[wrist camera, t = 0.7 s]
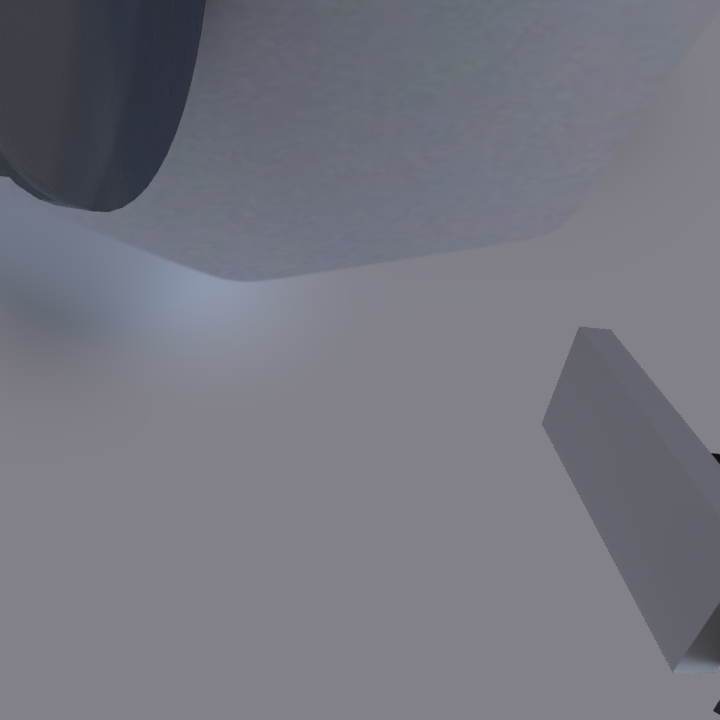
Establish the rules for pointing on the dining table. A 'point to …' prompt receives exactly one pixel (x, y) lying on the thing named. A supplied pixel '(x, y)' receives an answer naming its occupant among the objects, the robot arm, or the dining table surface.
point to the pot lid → (93, 94)
